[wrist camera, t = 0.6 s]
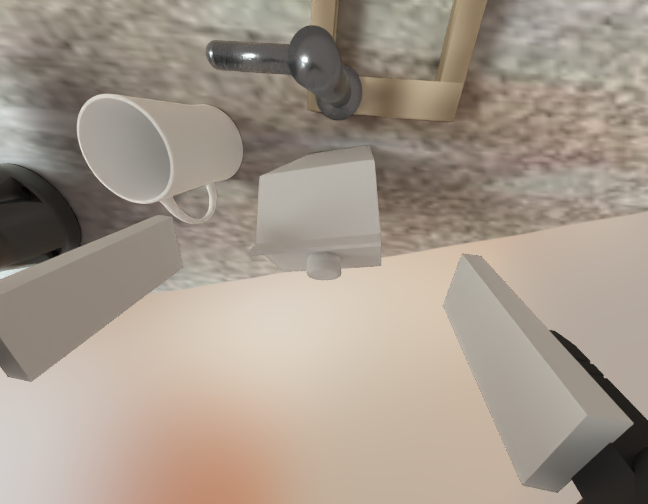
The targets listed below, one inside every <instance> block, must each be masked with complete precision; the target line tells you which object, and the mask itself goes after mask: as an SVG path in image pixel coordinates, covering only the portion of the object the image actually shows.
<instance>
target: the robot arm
mask: <svg viewBox="0 0 648 504" xmlns="http://www.w3.org/2000/svg"><path fill="white" fill-rule="evenodd" d="M80 241H81V234H80V228H79V225H78V222H77V219H76V217H75V215H74V213H73V211H72V210H71V208H70V206H69V205H68V203H67V202H66V201H65V199H64V198H63V197H62V196H61V195H60V194H59V192H58V191H57V190H56V189H55V188H54V187H53V186H51V185H50V184H49V183H48V182H47V181H46V180H44V179H43V178H41V177H40V176H39V175H37V174H35V173H34V172H32V171H30V170H28V169H26V168H23V167H21V166H18V165H14V164H0V271H5V270H12V269H18V268H25V267H30V268H27V269H25V270H22V271H20V272H17V273H15V274H13V275H10V276H8V277H5V278H3V279H0V367H1V368H2V369H3V371H4V372H5V373H6V375H7V376H8V377H11V378H16V379H21V380H25V381H30V382H32V381H33V380H34V379H36V378H37V377H38V376H39V375H41V374H42V373H44V372H45V371H46V370H47V369H49V368H50V367H52V366H53V365H54V364H55V363H57V362H58V361H60V360H61V359H62V358H63V357H65V356H66V355H67V354H69V353H70V352H71V351H73V350H74V349H75V348H77V347H78V346H79V345H81V344H82V343H83V342H85V341H86V340H87V339H89V338H90V337H91V336H92V335H94V334H95V333H97V332H98V331H99V330H100V329H102V328H103V327H104V326H105V325H107V324H108V323H110V322H111V321H112V320H114V319H115V318H116V317H117V316H119V315H120V314H121V313H123V312H124V311H126V310H127V309H128V308H129V307H131V306H132V305H133V304H135V303H136V302H137V301H139V300H140V299H142V298H143V297H144V296H145V295H147V294H148V293H149V292H151V291H152V290H153V289H155V288H156V287H157V286H159V285H160V284H161V283H163V282H164V281H165V280H167V279H168V278H169V277H171V276H172V275H173V274H175V273H176V272H177V271H179V270H180V269H181V268H183V265H182V260H181V256H180V251H179V246H178V241H177V237H176V232H175V227H174V223H173V218H172V217H170V216H162V215H156V216H154V217H151V218H149V219H146V220H144V221H141V222H139V223H137V224H134V225H132V226H129V227H127V228H124V229H122V230H120V231H117V232H115V233H112V234H110V235H107V236H105V237H102V238H100V239H98V240H95V241H93V242H90V243H88V244H85V245H83V246H81V247H79V246H80ZM31 266H32V267H31ZM443 307H444V309H445V311H446V314H447V316H448V318H449V321H450V323H451V325H452V327H453V329H454V332H455V334H456V336H457V339H458V341H459V343H460V345H461V348H462V350H463V352H464V355H465V357H466V359H467V361H468V364H469V366H470V368H471V370H472V373H473V375H474V377H475V380H476V382H477V384H478V386H479V389H480V391H481V393H482V395H483V397H484V400H485V402H486V404H487V407H488V409H489V411H490V414H491V416H492V418H493V421H494V423H495V425H496V427H497V430H498V432H499V434H500V436H501V439H502V441H503V443H504V445H505V448H506V450H507V452H508V455H509V457H510V459H511V461H512V464H513V466H514V468H515V470H516V473H517V475H518V477H519V480H520V482H521V484H522V485H524V486H528V487H533V488H538V489H542V490H547V491H551V492H557V493H558V492H559V491H560V490H561V489H562V488H563V487H564V486H566V485H567V484H568V483H569V482H570V481H571V480H572V481H573V482H574V484H575V485H576V487H577V489H578V491H579V492H580V494H581V496H582V498H583V499H582V500H580V501H579V502H578V503H577V504H648V420H647V419H646V418H645V417H644V416H643V415H642V414H641V413H640V412H639V411H638V410H637V409H636V408H635V407H634V406H633V405H632V404H631V403H630V402H629V400H628V399H627V398H626V397H624V395H623V394H622V393H621V392H620V391H619V390H618V389H617V388H616V387H615V386H614V385H613V384H612V383H611V382H610V381H609V380H608V379H607V378H604V377H603V376H604V375H603V374H602V373H601V372H600V371H599V370H598V369H597V367H596V366H594V364H590V360H589V359H588V358H587V357H586V356H585V355H584V354H583V353H582V352H581V351H580V350H579V349H578V348H577V347H576V346H575V345H574V344H572V343H571V342H570V341H568V340H567V339H565V338H564V337H563V336H561V335H560V334H558V333H557V332H555V331H552V330H548V329H547V328H546V327H545V325H544V324H543V323H542V322H541V321H540V320H539V319H538V318H537V317H536V316H535V314H533V312H532V311H531V310H530V309H529V308H528V307H527V306H526V305H525V304H524V302H523V301H522V300H521V299H520V298H519V297H518V296H517V295H516V294H515V293H514V291H513V290H512V289H511V288H510V287H509V286H508V285H507V284H506V283H505V282H504V281H503V280H502V278H501V277H500V276H499V275H498V274H497V273H496V272H495V271H494V270H493V268H492V267H491V266H490V265H489V264H488V263H487V262H486V261H485V260H484V259H483V258H482V256H477V255H469V254H462V255H461V258H460V260H459V263H458V266H457V269H456V271H455V274H454V277H453V280H452V283H451V285H450V288H449V290H448V293H447V296H446V299H445V302H444V304H443Z"/></svg>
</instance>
